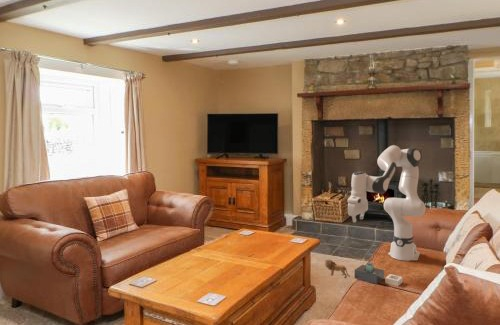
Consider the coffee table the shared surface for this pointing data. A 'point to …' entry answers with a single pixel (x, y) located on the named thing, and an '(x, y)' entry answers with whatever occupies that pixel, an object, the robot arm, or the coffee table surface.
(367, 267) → the plug
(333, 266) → the lion figurine
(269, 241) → the coffee table surface
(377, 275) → the block
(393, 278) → the white square block
